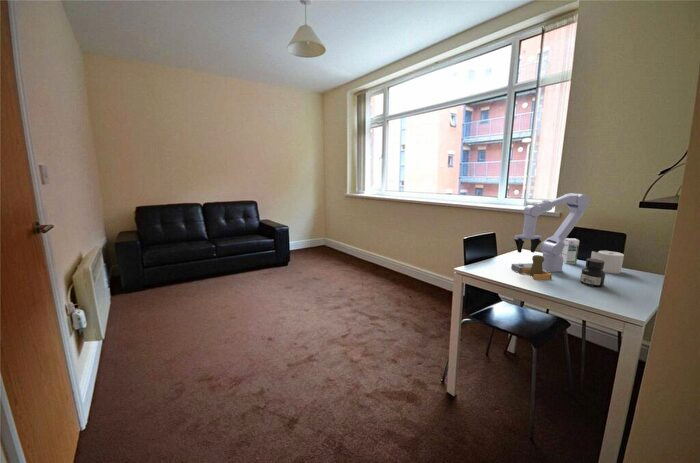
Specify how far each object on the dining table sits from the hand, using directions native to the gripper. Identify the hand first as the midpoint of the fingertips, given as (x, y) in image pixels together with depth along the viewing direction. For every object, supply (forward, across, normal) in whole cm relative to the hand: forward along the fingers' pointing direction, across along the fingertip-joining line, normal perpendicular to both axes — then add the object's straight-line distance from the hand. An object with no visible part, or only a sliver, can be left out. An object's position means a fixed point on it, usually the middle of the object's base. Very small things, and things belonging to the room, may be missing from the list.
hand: (525, 252), depth 162 cm
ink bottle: (+10, +20, -22) cm, 31 cm away
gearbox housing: (+10, +1, -6) cm, 12 cm away
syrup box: (+10, +37, +12) cm, 40 cm away
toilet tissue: (+10, +46, -4) cm, 47 cm away
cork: (+11, +1, -9) cm, 14 cm away
